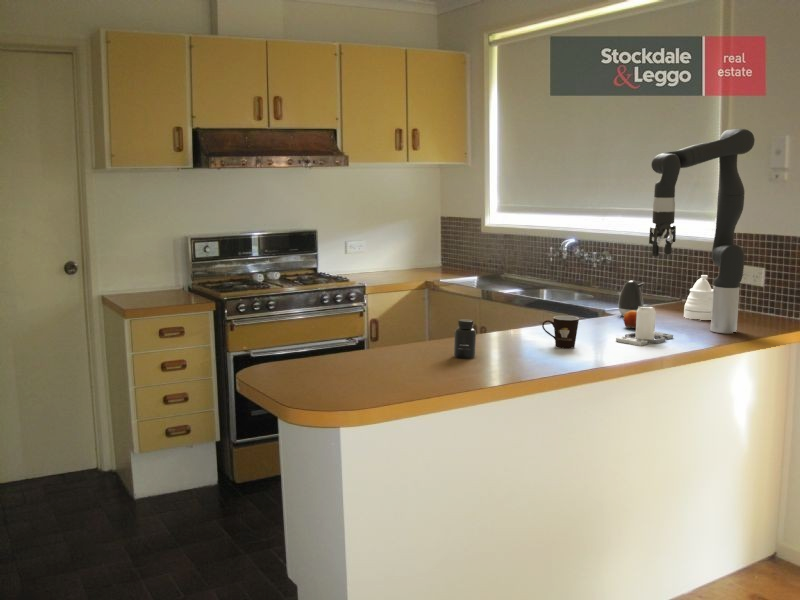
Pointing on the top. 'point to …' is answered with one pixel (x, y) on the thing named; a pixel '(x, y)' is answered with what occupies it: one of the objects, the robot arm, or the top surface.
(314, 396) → the top surface
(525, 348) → the top surface
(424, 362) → the top surface
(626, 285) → the pump dispenser
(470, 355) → the supplement bottle
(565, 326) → the coffee mug
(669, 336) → the octagonal ring bracket
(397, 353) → the top surface
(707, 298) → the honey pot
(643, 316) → the can
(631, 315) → the fruit
